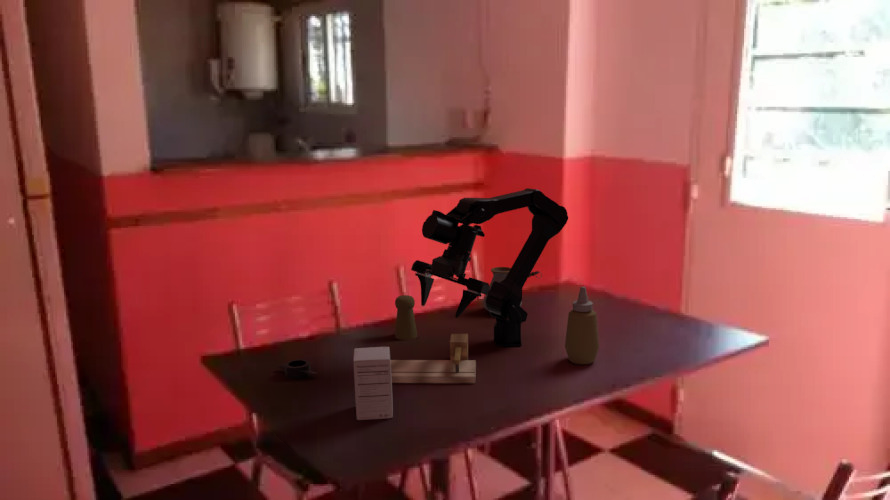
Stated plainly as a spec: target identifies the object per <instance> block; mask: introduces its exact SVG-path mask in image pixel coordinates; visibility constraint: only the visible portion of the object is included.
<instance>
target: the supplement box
mask: <svg viewBox="0 0 890 500" xmlns="http://www.w3.org/2000/svg"><path fill="white" fill-rule="evenodd" d="M390 349H391V348H390V346H376V347H375V346H373V347H359V348H356V347H355V348H354V349H353V358H352V361H353V378H354V395H355V397H354V399H355V410H356V411H355V413H356V420H358V421H365V420H369V421H370V420H383V419H393V417H394V407H393V406H394V403H393V400H394V399H393V383H392V377H391V361H390V360H391V350H390Z"/></svg>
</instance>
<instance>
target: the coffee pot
mask: <svg viewBox="0 0 890 500" xmlns="http://www.w3.org/2000/svg"><path fill="white" fill-rule="evenodd" d="M510 269H511V267H508V266H507V267H506V266H496V267H492V268H491V269H490V271H491V273H492V275H493V276H492V278H491V280H490V283H489V286H490V288H491V286H492V284H493V282H494V281H497V282H501V281H503V280H504V279H505V278H506V276H507V274H508V273H509V271H510ZM538 274H540V277H537V275H538ZM534 276H535V278H536V279H538V280H539V279H541V278H542V277H543V274H542V273H541V272H540V271H539V270H535V271H531V273H530V275H529V277H528V279H529V278H530V277H534ZM489 290H490V289H489ZM487 296H488V295H485V294H484V297H483V300H482V305H483V308H484V309H485V310H486V311H488V312H489V314H490V311H489V310H488V309H487V307H486V302H485V301H486V298H487ZM522 304H523V302H522V301H521V304H520V307H521V308H522Z"/></svg>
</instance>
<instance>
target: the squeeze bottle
mask: <svg viewBox="0 0 890 500" xmlns="http://www.w3.org/2000/svg"><path fill="white" fill-rule="evenodd" d="M579 288H580V289H579V293H578V296H577V299H576V300H574V301H573V302H572V309H571V310H569V312H568V315H567V325H566V332H565V334H566V335H565V342H564V348H565V352H566V355H567V357H568V360H569V362H571V363H573V364H577V365H590V364H593V363H594V362H595V360H596V357H597V355H598V352H599V349H600V340H599V338H600V337H599V328H598V327H599V326H598V317H597V312H596V311H595V310H594V309H593V305H594V303H593V301H591V300H589V298H588V294H587V288H586V286H580V287H579Z"/></svg>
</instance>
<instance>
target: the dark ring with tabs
mask: <svg viewBox="0 0 890 500" xmlns="http://www.w3.org/2000/svg"><path fill="white" fill-rule="evenodd" d="M277 369H283V370H284V374H285V375H284V376H285V378H286V379H288V378H289V379H290V380H302V379H305V378H308V377H309V376H311V375H313V376H314V375H319V373H318V372H315V371H312V370H311V361H310V360H308V359H306V358H296V359H295V358H294V359H291V360H288V361H286V362H285V363H281V364H280V365H278V367H277Z"/></svg>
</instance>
